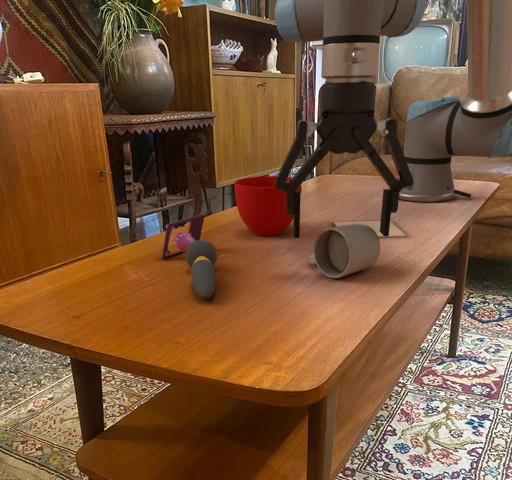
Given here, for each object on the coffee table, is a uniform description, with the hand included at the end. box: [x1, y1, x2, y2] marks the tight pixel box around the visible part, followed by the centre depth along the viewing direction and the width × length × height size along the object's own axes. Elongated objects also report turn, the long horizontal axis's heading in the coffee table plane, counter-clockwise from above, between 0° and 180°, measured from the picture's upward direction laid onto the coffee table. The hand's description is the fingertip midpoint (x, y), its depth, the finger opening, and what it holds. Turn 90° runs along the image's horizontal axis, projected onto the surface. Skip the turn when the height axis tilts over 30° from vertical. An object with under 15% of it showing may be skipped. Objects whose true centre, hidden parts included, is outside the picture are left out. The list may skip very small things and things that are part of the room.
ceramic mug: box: [309, 224, 381, 279], centre depth 81 cm, size 11×8×8 cm
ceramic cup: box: [233, 175, 303, 237], centre depth 105 cm, size 13×17×10 cm
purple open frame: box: [161, 213, 206, 260], centre depth 91 cm, size 7×5×9 cm
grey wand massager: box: [185, 239, 218, 300], centre depth 79 cm, size 20×5×5 cm, turn 12°
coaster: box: [333, 220, 407, 238], centre depth 105 cm, size 12×12×1 cm
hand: (340, 235), depth 80 cm, fingers open, 13 cm apart
